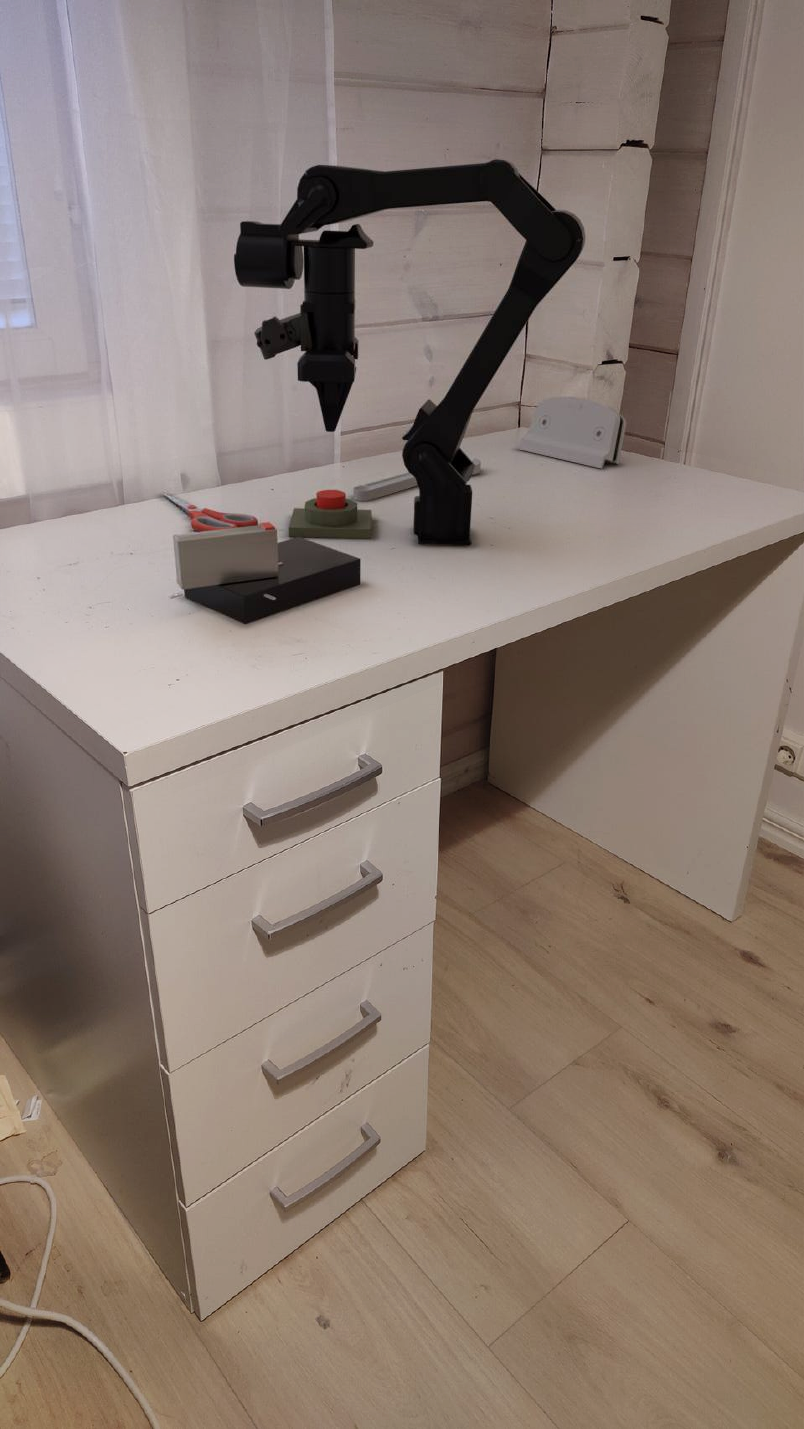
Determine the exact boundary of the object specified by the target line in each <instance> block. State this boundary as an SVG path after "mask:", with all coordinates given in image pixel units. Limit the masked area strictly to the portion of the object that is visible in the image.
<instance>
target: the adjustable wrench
mask: <svg viewBox="0 0 804 1429" xmlns="http://www.w3.org/2000/svg"><path fill="white" fill-rule="evenodd" d="M471 461H472V462H473V463H474V464H475V468H474V470H473V473H472V475H471V476H473V475H477V474H479V473H481V464H482V463H481V462H482V461H481V460H480V459H479V458H474V459H473V460H471ZM414 487H418V484H417V481H416V478H415V477H414V476H413V475H412V474H410V473H409V472H408V471H407V472H404V473H400V474H396V475H393V476H389V477H385V478H382V479H378V480H374V481H371V482H367V483H363V484H360V485H359V484H358V485H356V486H353V487H352V499H353V501H358V502H368V501H372V500H375V499H379V498H381V497H384V496H388V495H392V494H396V493H398V492H402V491H405V490H407V489H411V488H414Z"/></svg>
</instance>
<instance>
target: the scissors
mask: <svg viewBox="0 0 804 1429" xmlns="http://www.w3.org/2000/svg"><path fill="white" fill-rule="evenodd" d="M162 495H164V496H165V497H166V498H167V499H168V500H170V501H171V502H172V503H174V504H176V505H177V506H178V507H180V508H181V509H182V510H183V512H186V514H188V517H189V518H190V520H191V521H190V526H191V528H192V529H193V530H194V531H196V532H204V531H212V530H221V529H230V528H239V527H248V526H257V525H259V520H258V519H257V518H256V516H254V515H250V514H244V513H231V512H220V511H216V510H213V509H209V508H207V507H204V508H202V509H201V508H199V507H197V506H196V505H193V504H189V503H187V502H185V501H183V500H180V499H178V498H176V497H174V496H172V495H170V494H166V493H163V492H162Z"/></svg>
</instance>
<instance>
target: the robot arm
mask: <svg viewBox="0 0 804 1429" xmlns="http://www.w3.org/2000/svg"><path fill="white" fill-rule="evenodd" d="M478 202H479V203H481V202H490V203H491V204H492V205H493V206H494V207H495V208H496V209H497V210H498V211H499V213H501V214H502V216H503V217H504V218H505V219H506V220H507V221H508V222H509V224H510V225H511V226H512V227H513V228H514V229H515V230H516V232H518V233H519V235H520V236H521V237H523V239H524V240H525V243H524V245H523V248H522V250H521V253H520V255H519V258H518V261H517V264H516V266H515V269H514V271H513V275H512V278H511V280H510V283H509V286H508V289H507V290H506V292H505V294H504V295H503V297H502V299H501V301H500V302H499V304H498V306H497V307H496V309H495V311H494V313H493V314H492V316H491V317H490V318H489V321H488V323H487V324H486V327H485V328H484V329H483V331H482V333H481V334H480V337H479V338H478V339H477V342H476V343H475V345H474V347H473V348H472V350H471V352H470V353H469V355H468V357H467V359H466V360H465V362H464V364H463V365H462V367H461V369H460V370H459V372H458V374H457V375H456V377H455V379H454V380H453V382H452V383H451V385H450V387H449V389H448V391H447V392H446V394H445V396H444V397H443V398H442V400H441V401H440V402H439V403H438V405H436V404H435V402H433V401H432V400H431V399H430V398H429V399H427V400H426V401H425V402H424V403H423V404H422V405H421V407H420V408H419V409H418V410H417V414H416V416H415V418H414V422H413V424H412V426H410V428H409V429H408V430H407V431H406V432H405V434H404V435H403V436H402V437H401V439H402V440H403V441H406V442H405V444H404V447H403V449H402V454H401V457H402V460H403V465H404V467H405V468H406V471H407V472H409V473H410V474H412V475H413V476H414V477H415V478H416V481H417V484H418V486H417V487H418V490H419V491H418V492H419V493H418V495H415V496H414V498H413V523H412V524H413V525H412V526H413V527H412V529H413V535H415V536H416V538H417V544H420V545H439V546H440V545H441V546H442V545H449V546H471V545H472V536H471V522H472V508H473V507H472V505H473V489H472V485H471V484H467V483H468V482H469V481H470V479H471V477H472V476H473V475H472V473H473V470H474V468H475V464H474V463H473V462H472V461H473V460H472V459H470V457H469V456H468V455H467V454H466V453H465V452H464V450H463V449H462V448H461V445H462V442H463V440H464V437H465V435H466V431H467V430H468V427H469V423H470V421H471V418H472V415H473V413H474V410H475V408H476V406H477V405H478V404H479V401H480V400H481V398H482V396H483V395H484V393H485V391H486V390H487V388H488V387H489V385H490V383H491V382H492V380H493V379H494V377H495V375H496V374H497V372H498V370H499V369H500V367H501V366H502V364H503V363H504V360H505V359H506V357H507V356H508V354H509V352H510V351H511V349H512V347H513V345H514V344H515V343H516V341H517V339H518V338H519V336H520V334H521V333H522V331H523V330H524V327H525V326H526V324H528V321H529V320H530V318H531V316H532V315H533V313H534V311H535V310H536V308H537V306H538V305H539V304H540V303H541V302H542V300H544V298H545V297H546V296H547V295H548V294H549V293H550V291H551V290H552V289H553V288H554V287H555V286H556V285H557V283H558V282H559V281H560V280H561V279H562V278H563V276H564V275H565V274H566V273H567V272H568V271H569V269H570V268H571V267H572V266H573V265H574V264H575V262H577V260H578V258H579V257H580V255H581V254H582V252H583V250H584V247H585V244H586V231H585V226H584V225H583V223H582V221H581V219H580V218H579V217H578V216H577V215H576V214H575V213H573V212H571V211H569V210H566V209H556V208H555V207H554V206H553V205H552V204H551V202H549V201H548V199H546V198H545V197H544V196H543V195H542V193H540V192H539V191H538V190H537V189H536V188H535V187H534V186H533V185H532V184H530V183H529V181H528V180H526V179H525V177H524V176H522V175H521V173H520V172H519V170H518V168H517V167H516V166H515V165H514V163H513V162H511V161H509V160H507V159H498V158H496V159H492V160H489V161H487V162H481V163H469V164H456V165H446V166H435V167H434V166H433V167H421V168H411V169H399V170H387V171H384V170H377V169H368V168H362V167H352V166H344V165H334V164H333V165H332V164H331V165H330V164H317V165H313V166H311V167H309V168H307V169H306V170H305V171H304V173H303V175H302V176H301V177H300V179H299V182H298V185H297V187H296V200H295V202H294V203H293V204H292V206H291V208H290V209H289V210H288V212H287V214H286V215H285V217H284V219H282V222H281V223H263V222H260V221H257V220H244V221H241V222H240V223H239V231H240V232H239V235H238V237H237V241H236V247H235V253H234V254H233V264H234V273H235V277H236V280H237V282H238V284H239V285H240V286H241V287H243V288H261V289H264V288H265V289H281V290H282V289H284V290H291V289H292V288H293V287H294V284H295V281H296V280H297V281H299V280H301V278H302V276H303V283H304V284H303V289H304V290H303V293H304V296H303V298H304V300H303V301H302V303H301V304H300V305H299V312H298V313H296V314H293V315H290V316H287V317H283V318H281V319H279V318H278V317H277V316H276V315H275V316H272V317H271V318H269V319H264V320H263V321H262V322H261V326H259V327H257V329H256V330H255V331H254V332H253V333H254V336H255V339H256V346H257V347H258V348H259V350H260V353H261V355H262V358H263V360H264V361H265V360H270V359H273V358H275V357H276V356H277V355H278V354H281V353H284V352H287V351H289V350H292V349H296V348H298V347H300V352H304V353H303V354H302V355H301V356H300V357H299V359H298V361H297V363H296V364H297V368H296V369H297V381H298V382H302V383H303V382H304V383H306V382H307V383H310V384H311V385H312V386H313V387H314V388H315V390H316V393H317V398H318V402H319V408H320V411H321V416H322V420H323V425H324V430H325V431H326V432H327V433H328V432H329V433H334V432H335V431H336V430H337V427H338V424H339V421H340V419H341V416H342V413H343V411H344V408H345V405H346V403H347V400H348V397H349V395H350V392H351V389H352V387H353V383H355V380H356V373H357V367H356V360H359V339H358V338H357V337H356V334H355V333H356V332H355V331H356V329H355V328H356V327H355V326H356V325H355V324H356V320H355V318H356V250H365V249H370V248H372V247H374V244H375V243H374V241H373V239H371V238H370V237H369V236H368V234H366V233H365V232H364V230H363V228H362V226H361V224H360V223H356V224H352V225H351V227H350V228H349V229H348V230H322V232H321V233H320V236H319V239H303V238H302V239H300V235H303V234H308V233H314V232H318V231H319V230H320V229H322V228H323V227H324V226H328V225H329V226H330V225H336V224H342V223H347V222H349V221H353V220H357V219H361V218H364V217H367V216H371V215H373V214H377V213H380V212H384V211H387V210H390V209H403V208H416V207H417V208H418V207H429V206H430V207H431V206H441V205H443V206H444V205H455V204H467V203H468V204H469V203H478Z"/></svg>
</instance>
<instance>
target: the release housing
mask: <svg viewBox="0 0 804 1429" xmlns="http://www.w3.org/2000/svg"><path fill="white" fill-rule="evenodd" d="M372 515H373V514H372V509H358V502H356V501H355V500H354V499H353V500H352V499H351V498H346V507H345V508H341V509H322V508H318V507H317V497H315V498H312V499H309V500H307V501H305V502H304V507H303V508H302V507H301V508H299V507H298V508H297V507H294V508H293V510H292V514H291V518H290V521H289V524H288V537H289V538H296V537H301V538H325V539H326V538H330V539H332V538H333V539H372V538H371V537H372Z"/></svg>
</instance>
